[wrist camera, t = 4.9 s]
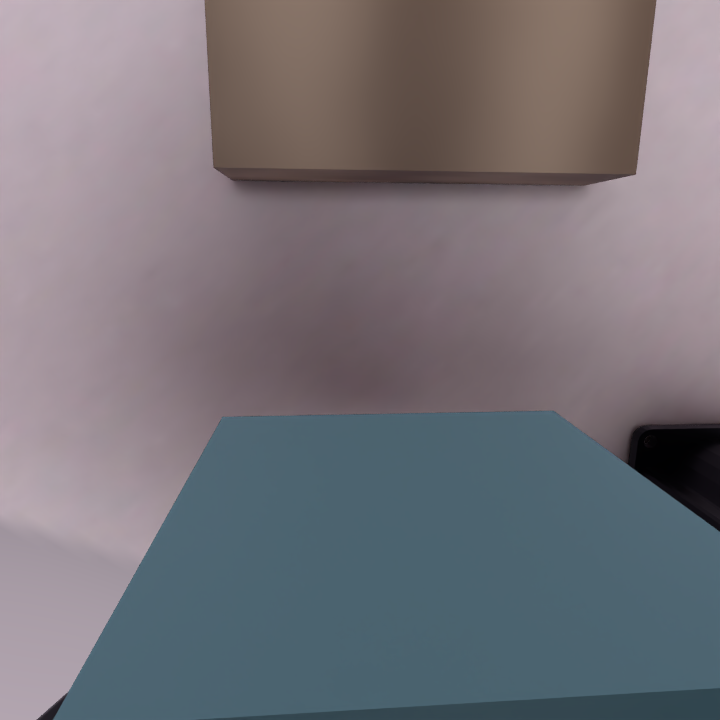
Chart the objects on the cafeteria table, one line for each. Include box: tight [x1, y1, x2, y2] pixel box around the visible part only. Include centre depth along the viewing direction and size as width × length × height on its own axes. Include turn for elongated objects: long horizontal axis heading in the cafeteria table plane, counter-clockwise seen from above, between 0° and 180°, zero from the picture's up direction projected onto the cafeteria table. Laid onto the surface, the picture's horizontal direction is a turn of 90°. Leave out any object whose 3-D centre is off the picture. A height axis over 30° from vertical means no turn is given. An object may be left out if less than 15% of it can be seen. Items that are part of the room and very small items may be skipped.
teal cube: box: [53, 411, 720, 720], centre depth 6 cm, size 5×5×5 cm
